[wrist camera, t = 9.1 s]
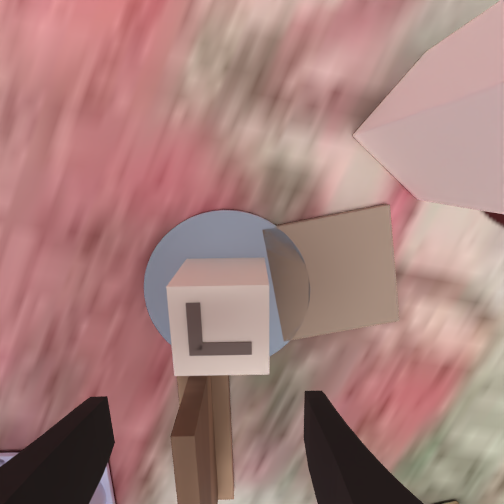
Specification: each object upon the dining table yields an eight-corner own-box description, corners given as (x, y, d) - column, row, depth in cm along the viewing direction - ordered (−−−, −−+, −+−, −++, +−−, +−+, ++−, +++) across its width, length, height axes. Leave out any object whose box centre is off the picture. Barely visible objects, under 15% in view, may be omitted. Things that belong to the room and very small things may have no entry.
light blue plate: (155, 363, 22) (152, 368, 22) (138, 211, 20) (134, 212, 19) (306, 359, 22) (308, 364, 22) (310, 207, 20) (312, 208, 19)
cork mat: (282, 337, 22) (283, 341, 21) (262, 228, 20) (262, 229, 19) (395, 316, 22) (399, 320, 21) (385, 203, 20) (389, 204, 19)
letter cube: (191, 329, 21) (173, 377, 16) (186, 258, 20) (165, 287, 15) (264, 327, 21) (269, 375, 16) (264, 257, 20) (269, 285, 15)
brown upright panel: (190, 490, 25) (168, 605, 19) (177, 350, 22) (145, 429, 15) (234, 489, 25) (228, 604, 19) (227, 349, 22) (217, 427, 15)
